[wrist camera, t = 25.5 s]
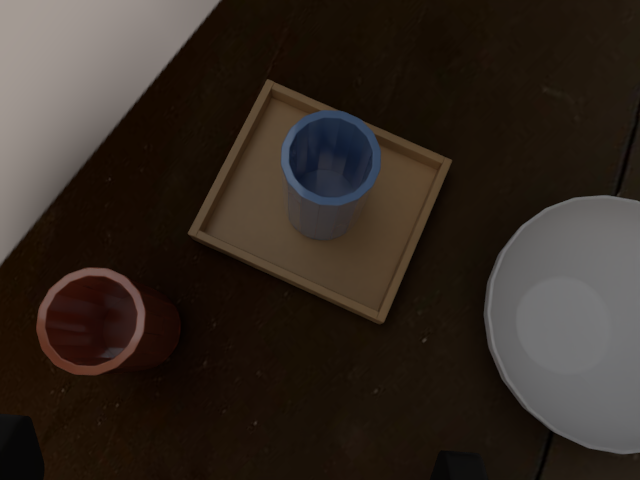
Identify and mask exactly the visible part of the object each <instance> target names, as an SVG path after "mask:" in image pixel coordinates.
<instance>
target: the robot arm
mask: <svg viewBox="0 0 640 480" xmlns="http://www.w3.org/2000/svg"><path fill="white" fill-rule="evenodd" d="M43 477H44V461H43V457H42V454H41V450H40V447H39V443H38V440H37V436H36V433H35V429H34V426H33V422H32V420H31V418H30V417H29V416H21V415H9V414H0V480H43ZM430 480H488V478H487V474H486V470H485V466H484V462H483V459H482V457H481V456H480V454H478V453H467V452H455V451H440V452H439V454H438V457H437V460H436V463H435V466H434V469H433V472H432V475H431V478H430Z"/></svg>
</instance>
